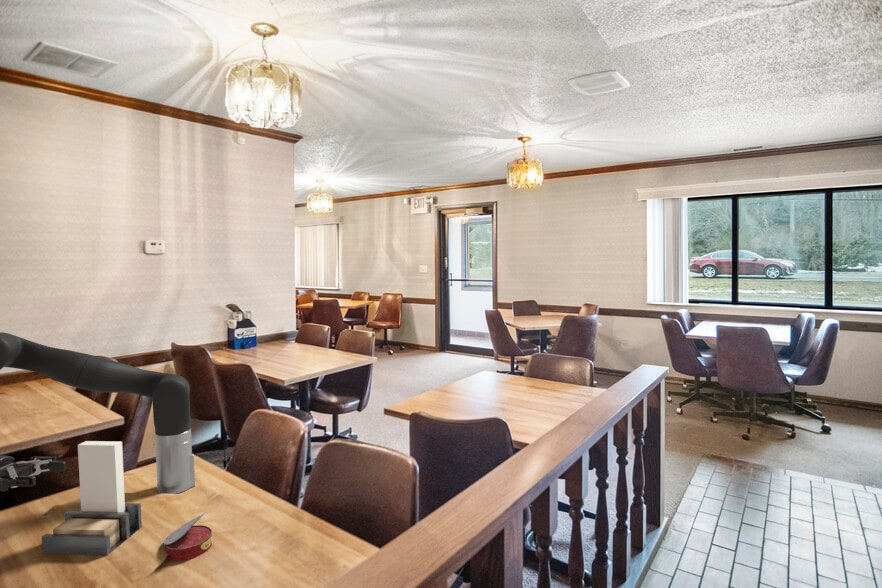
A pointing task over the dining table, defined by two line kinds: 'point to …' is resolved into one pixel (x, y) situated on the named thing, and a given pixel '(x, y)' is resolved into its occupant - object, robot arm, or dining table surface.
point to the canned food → (188, 541)
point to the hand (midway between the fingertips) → (50, 473)
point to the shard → (52, 509)
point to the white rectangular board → (101, 476)
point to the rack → (94, 543)
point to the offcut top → (87, 527)
